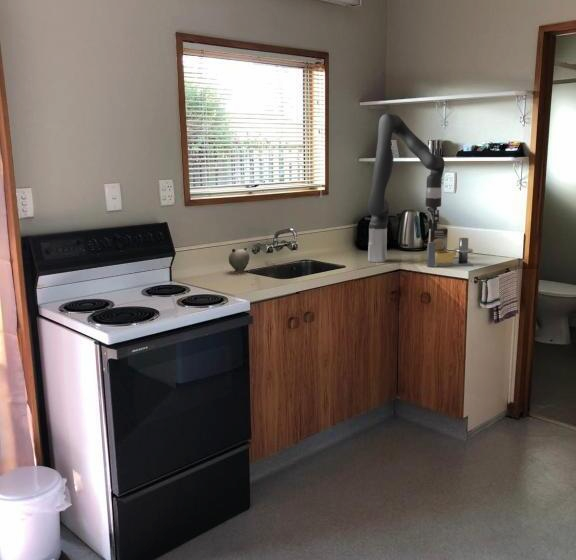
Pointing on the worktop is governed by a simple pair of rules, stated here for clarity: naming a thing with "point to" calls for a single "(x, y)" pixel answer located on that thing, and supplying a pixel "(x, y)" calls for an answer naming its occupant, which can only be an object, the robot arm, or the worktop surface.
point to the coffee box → (439, 238)
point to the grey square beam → (431, 254)
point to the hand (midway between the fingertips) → (432, 229)
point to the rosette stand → (447, 257)
